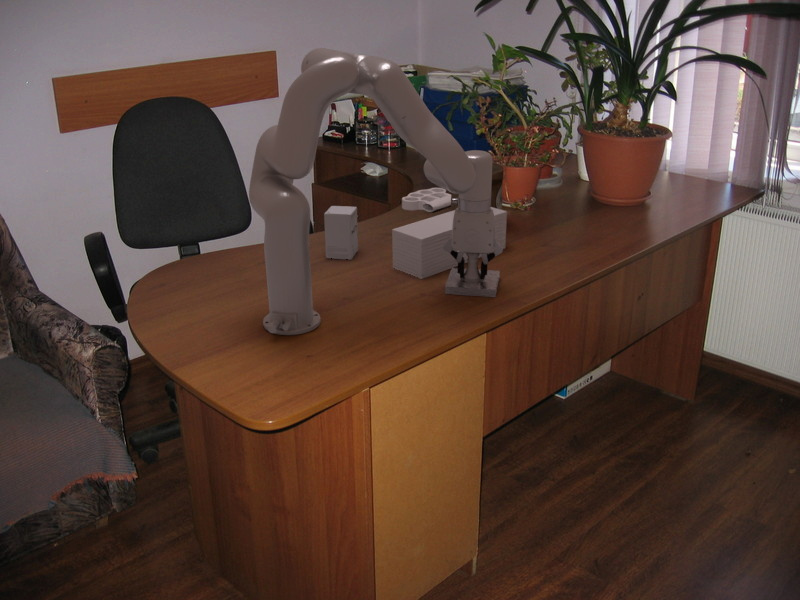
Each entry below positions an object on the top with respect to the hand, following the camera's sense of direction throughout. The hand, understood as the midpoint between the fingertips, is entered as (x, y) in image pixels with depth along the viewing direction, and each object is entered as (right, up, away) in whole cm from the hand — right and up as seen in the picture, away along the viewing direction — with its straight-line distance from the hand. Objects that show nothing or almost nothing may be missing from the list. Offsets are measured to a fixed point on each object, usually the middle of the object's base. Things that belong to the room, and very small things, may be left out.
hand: (472, 276), depth 199 cm
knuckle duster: (-9, +24, +64) cm, 69 cm away
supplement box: (-33, +6, +22) cm, 40 cm away
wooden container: (+5, +15, +41) cm, 44 cm away
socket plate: (0, -2, +1) cm, 3 cm away
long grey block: (-4, +5, +19) cm, 20 cm away
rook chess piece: (0, -1, +1) cm, 2 cm away
